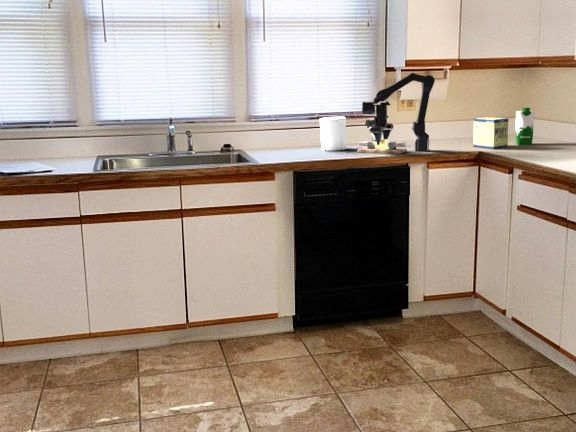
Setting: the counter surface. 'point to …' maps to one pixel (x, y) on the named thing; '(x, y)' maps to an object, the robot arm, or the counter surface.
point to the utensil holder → (333, 133)
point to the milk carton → (524, 126)
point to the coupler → (382, 144)
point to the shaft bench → (390, 150)
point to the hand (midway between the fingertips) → (381, 143)
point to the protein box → (490, 133)
